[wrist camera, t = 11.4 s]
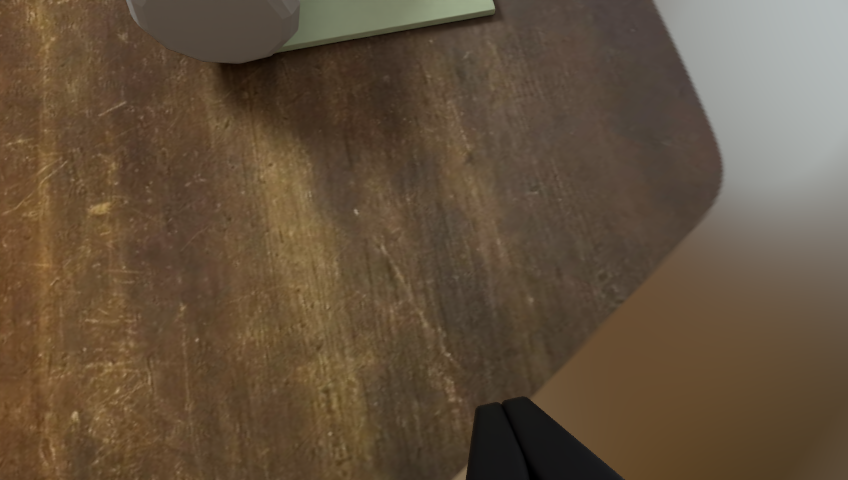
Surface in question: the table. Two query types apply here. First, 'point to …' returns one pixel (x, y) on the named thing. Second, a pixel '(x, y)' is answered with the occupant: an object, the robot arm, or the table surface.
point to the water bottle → (219, 26)
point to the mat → (375, 18)
